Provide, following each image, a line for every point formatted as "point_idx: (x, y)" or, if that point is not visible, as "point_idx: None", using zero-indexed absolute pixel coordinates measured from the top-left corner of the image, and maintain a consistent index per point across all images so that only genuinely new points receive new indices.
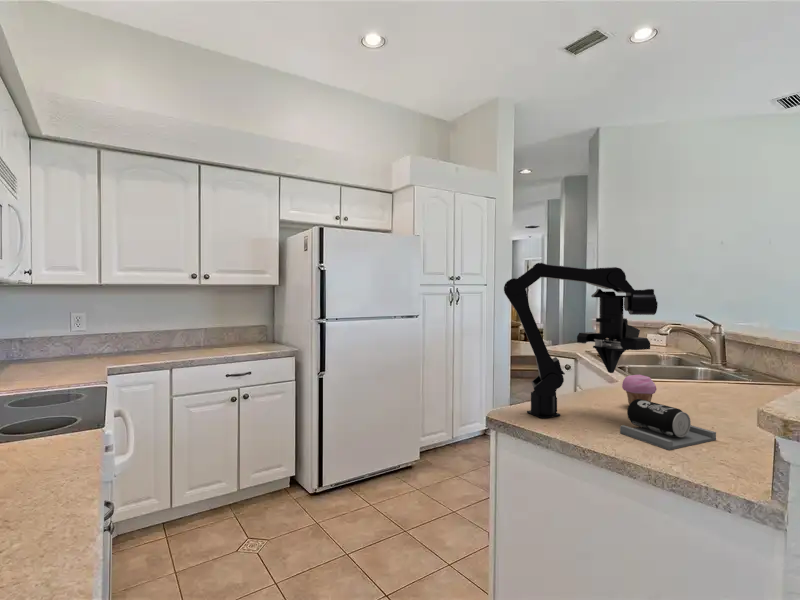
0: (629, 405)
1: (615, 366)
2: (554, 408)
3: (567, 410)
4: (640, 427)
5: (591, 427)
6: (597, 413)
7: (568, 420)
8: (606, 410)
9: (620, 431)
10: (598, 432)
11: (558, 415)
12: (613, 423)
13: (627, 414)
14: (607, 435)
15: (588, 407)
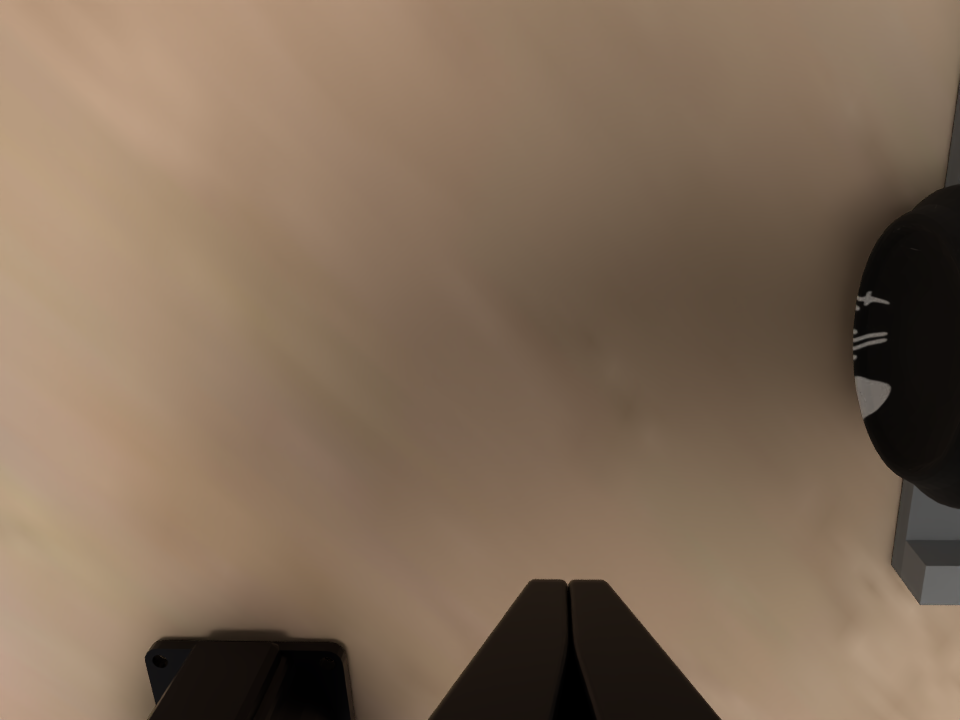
0: (942, 488)
1: (674, 686)
2: (285, 707)
3: (191, 464)
4: None
5: (672, 638)
6: (358, 279)
7: (455, 658)
8: (288, 88)
9: (901, 574)
10: (787, 681)
11: (345, 669)
12: (673, 401)
13: (879, 454)
14: (870, 677)
15: (135, 186)
